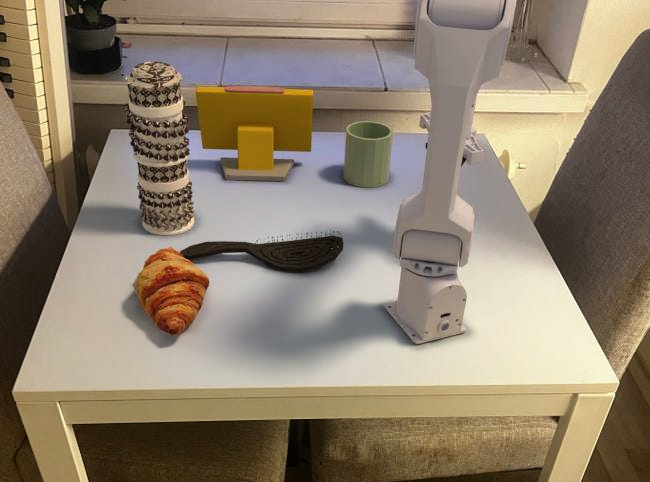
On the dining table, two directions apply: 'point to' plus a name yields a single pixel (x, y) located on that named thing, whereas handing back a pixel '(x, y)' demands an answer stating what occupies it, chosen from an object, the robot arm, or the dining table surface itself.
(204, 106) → the yellow framed monitor
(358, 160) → the coffee cup
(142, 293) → the croissant
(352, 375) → the dining table surface
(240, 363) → the dining table surface
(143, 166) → the decorative candle
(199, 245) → the hairbrush
